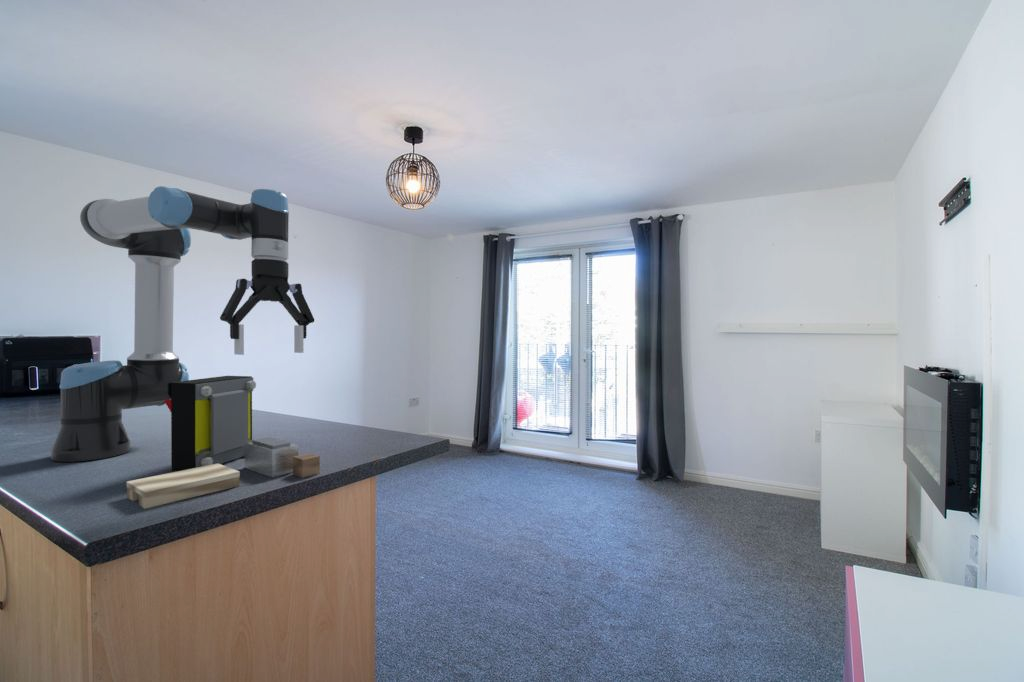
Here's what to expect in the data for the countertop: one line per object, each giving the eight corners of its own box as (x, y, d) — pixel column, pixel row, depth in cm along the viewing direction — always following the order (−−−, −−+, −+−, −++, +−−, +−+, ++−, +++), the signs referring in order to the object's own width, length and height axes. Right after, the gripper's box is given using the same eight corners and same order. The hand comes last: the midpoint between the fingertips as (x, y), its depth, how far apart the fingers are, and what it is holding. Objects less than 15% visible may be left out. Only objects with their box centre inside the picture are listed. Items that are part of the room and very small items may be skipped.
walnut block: (292, 474, 106) (292, 456, 106) (309, 470, 110) (309, 453, 110) (302, 478, 104) (302, 459, 104) (319, 473, 107) (319, 455, 107)
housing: (244, 468, 111) (244, 440, 111) (270, 462, 116) (270, 435, 116) (272, 478, 104) (272, 447, 104) (298, 471, 109) (298, 442, 109)
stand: (126, 497, 91) (126, 481, 91) (218, 477, 104) (218, 463, 104) (145, 509, 85) (145, 492, 85) (239, 486, 98) (239, 471, 98)
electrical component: (202, 473, 106) (202, 383, 106) (164, 470, 108) (163, 382, 108) (259, 453, 124) (259, 376, 123) (225, 451, 126) (225, 375, 125)
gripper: (217, 250, 97) (218, 356, 97) (329, 265, 117) (329, 352, 117) (202, 254, 101) (202, 354, 101) (312, 267, 121) (312, 351, 122)
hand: (270, 353), depth 109 cm, fingers open, 13 cm apart
